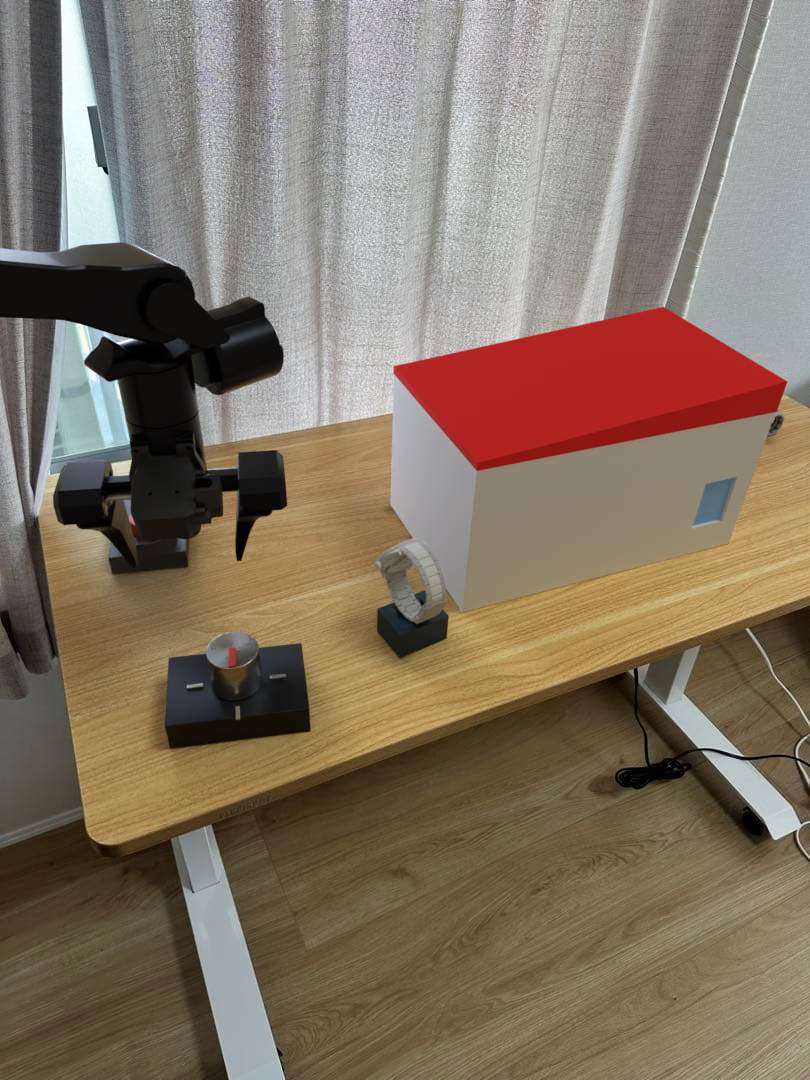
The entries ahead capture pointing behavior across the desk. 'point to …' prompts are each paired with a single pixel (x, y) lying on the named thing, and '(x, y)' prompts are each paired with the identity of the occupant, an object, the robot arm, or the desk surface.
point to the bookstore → (576, 452)
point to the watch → (412, 599)
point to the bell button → (133, 527)
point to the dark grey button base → (151, 553)
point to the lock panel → (216, 720)
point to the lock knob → (234, 665)
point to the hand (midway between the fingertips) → (188, 562)
